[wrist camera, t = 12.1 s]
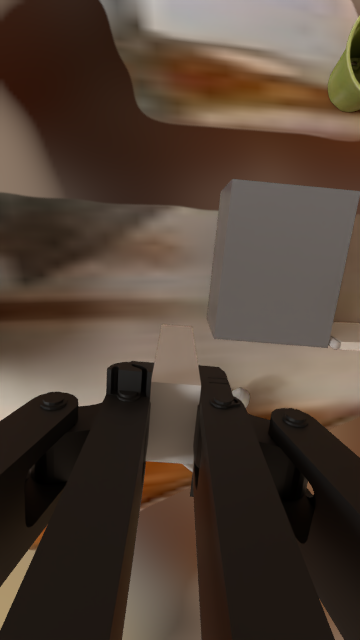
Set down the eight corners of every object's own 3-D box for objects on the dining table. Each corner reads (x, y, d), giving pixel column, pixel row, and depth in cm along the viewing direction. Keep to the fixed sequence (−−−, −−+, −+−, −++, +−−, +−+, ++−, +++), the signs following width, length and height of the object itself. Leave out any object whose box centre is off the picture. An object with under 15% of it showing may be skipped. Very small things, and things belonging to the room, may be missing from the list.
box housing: (206, 318, 49) (213, 338, 40) (220, 191, 45) (232, 179, 35) (298, 326, 50) (327, 347, 40) (321, 200, 45) (360, 191, 35)
